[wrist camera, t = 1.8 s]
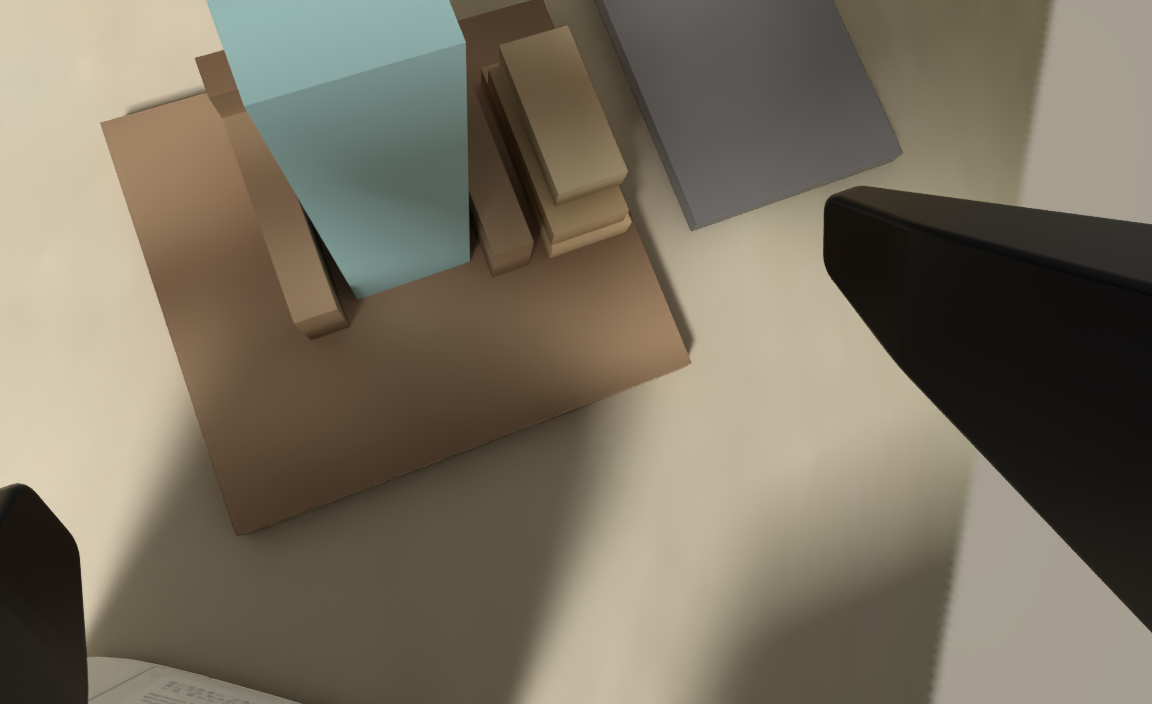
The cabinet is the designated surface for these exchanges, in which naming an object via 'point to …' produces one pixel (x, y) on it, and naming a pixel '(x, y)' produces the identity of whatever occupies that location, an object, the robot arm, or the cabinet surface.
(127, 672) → the photo printer
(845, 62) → the mat
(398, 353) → the rack
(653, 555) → the cabinet surface
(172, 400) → the cabinet surface
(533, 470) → the cabinet surface
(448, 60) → the teal rectangular block
